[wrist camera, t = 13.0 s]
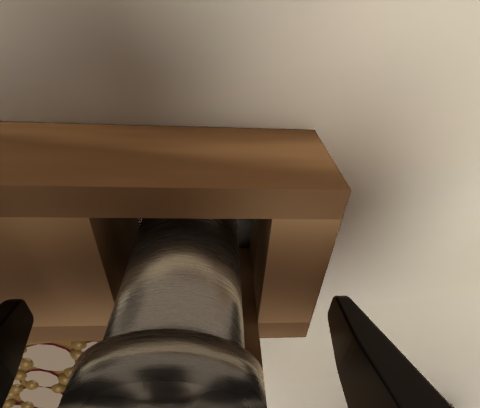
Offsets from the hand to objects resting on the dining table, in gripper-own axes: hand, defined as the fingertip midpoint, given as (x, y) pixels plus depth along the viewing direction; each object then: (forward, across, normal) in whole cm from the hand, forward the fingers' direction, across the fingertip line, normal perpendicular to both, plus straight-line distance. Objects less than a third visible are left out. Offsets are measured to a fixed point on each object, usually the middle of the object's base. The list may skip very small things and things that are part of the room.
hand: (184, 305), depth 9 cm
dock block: (+5, +2, 0) cm, 5 cm away
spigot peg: (+5, 0, 0) cm, 5 cm away
